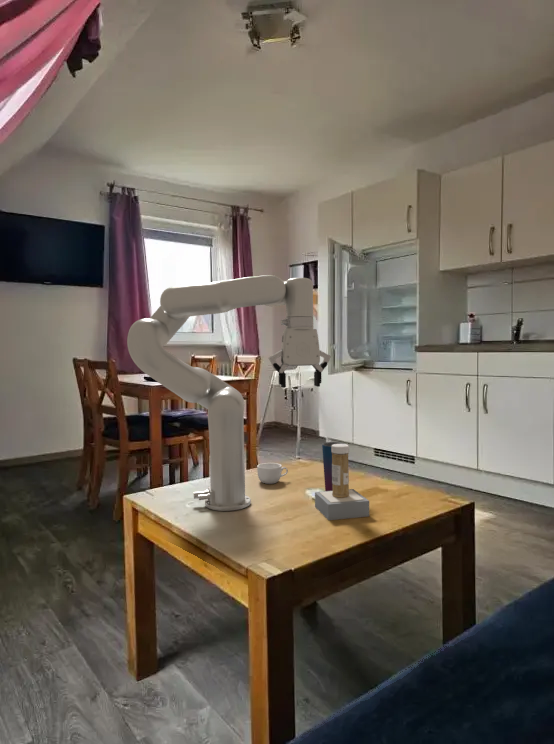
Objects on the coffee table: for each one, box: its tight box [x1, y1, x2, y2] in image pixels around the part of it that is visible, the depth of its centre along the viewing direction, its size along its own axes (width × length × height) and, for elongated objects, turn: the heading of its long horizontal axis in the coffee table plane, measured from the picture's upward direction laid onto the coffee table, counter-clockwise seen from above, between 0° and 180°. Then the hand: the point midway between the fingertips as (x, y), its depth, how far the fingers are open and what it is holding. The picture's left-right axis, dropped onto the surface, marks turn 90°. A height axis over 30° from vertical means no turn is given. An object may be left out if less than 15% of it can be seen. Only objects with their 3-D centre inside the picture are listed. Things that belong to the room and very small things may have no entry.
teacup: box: [256, 462, 289, 485], centre depth 164 cm, size 10×8×5 cm
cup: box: [321, 441, 346, 491], centre depth 149 cm, size 7×7×15 cm
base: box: [314, 488, 370, 521], centre depth 135 cm, size 11×11×4 cm
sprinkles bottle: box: [331, 443, 350, 498], centre depth 134 cm, size 5×5×14 cm
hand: (300, 386), depth 141 cm, fingers open, 9 cm apart
